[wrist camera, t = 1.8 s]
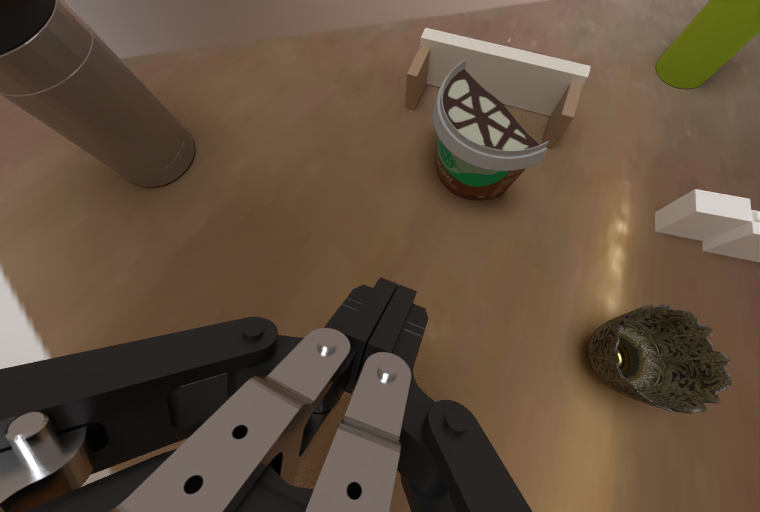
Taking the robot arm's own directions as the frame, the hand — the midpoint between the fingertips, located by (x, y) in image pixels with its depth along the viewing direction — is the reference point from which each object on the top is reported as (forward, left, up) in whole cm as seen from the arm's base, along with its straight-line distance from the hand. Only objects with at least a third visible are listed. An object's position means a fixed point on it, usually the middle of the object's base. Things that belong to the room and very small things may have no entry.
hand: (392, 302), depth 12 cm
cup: (+19, +6, -20) cm, 29 cm away
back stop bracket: (0, +30, -20) cm, 36 cm away
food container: (0, +20, -21) cm, 28 cm away
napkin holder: (+27, +22, -21) cm, 41 cm away
